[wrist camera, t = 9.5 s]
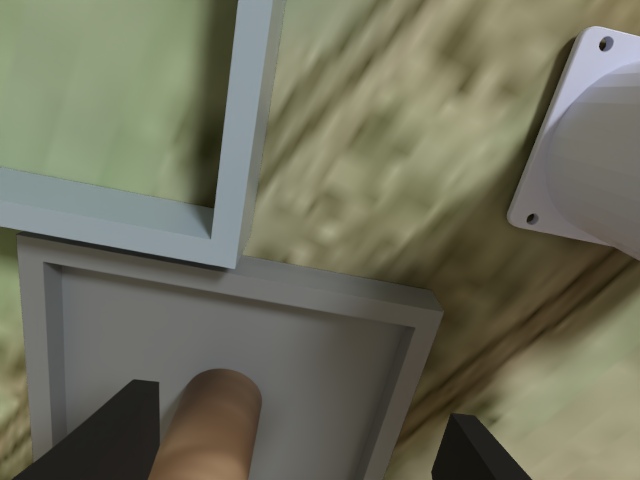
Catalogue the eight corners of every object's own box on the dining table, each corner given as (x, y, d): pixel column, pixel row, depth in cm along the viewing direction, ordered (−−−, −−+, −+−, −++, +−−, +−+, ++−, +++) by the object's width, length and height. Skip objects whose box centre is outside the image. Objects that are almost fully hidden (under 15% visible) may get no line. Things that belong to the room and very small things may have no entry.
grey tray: (431, 290, 19) (444, 312, 17) (354, 512, 24) (357, 547, 23) (48, 219, 18) (15, 234, 16) (59, 471, 23) (36, 504, 21)
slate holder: (308, -150, 13) (305, -231, 10) (250, 236, 18) (234, 269, 15) (-141, -271, 12) (-315, -407, 9) (-73, 175, 17) (-167, 195, 14)
